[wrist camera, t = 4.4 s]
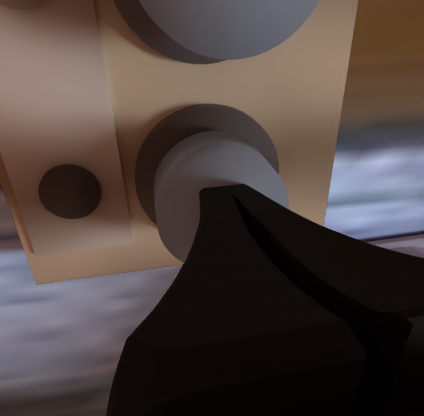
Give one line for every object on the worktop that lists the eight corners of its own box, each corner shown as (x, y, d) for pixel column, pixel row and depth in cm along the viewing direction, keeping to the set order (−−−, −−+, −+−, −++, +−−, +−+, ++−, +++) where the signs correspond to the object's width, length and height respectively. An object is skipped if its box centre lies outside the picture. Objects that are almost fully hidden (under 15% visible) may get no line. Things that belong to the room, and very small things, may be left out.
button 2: (265, 228, 14) (283, 261, 12) (159, 242, 13) (163, 278, 11) (271, 125, 12) (294, 147, 10) (146, 136, 11) (148, 160, 9)
